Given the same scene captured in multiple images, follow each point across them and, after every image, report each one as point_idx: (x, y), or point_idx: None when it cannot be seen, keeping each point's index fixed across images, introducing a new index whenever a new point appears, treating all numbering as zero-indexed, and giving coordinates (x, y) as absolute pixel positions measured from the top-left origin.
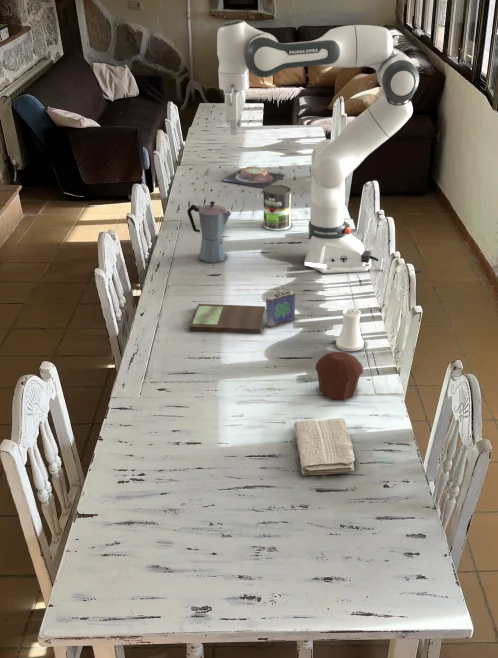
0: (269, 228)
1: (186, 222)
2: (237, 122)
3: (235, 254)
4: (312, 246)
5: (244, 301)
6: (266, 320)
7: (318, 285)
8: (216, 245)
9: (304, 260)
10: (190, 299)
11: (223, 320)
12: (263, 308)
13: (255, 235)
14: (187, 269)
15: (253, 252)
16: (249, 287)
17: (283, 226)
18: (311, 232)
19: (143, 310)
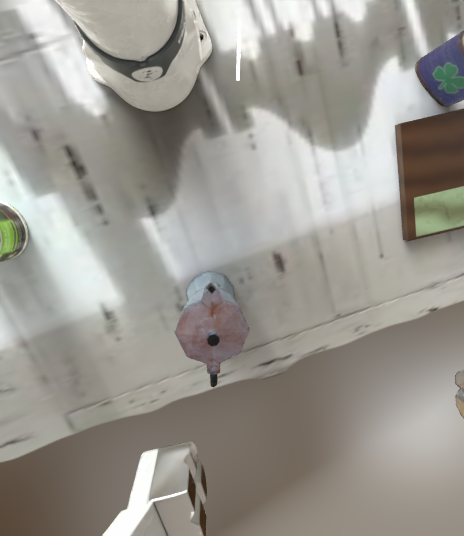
0: (26, 239)
1: (68, 402)
2: (193, 504)
3: (180, 261)
4: (178, 68)
5: (366, 174)
6: (459, 101)
7: (271, 47)
8: (227, 289)
9: (165, 109)
10: (375, 264)
11: (459, 178)
12: (409, 123)
13: (72, 257)
14: (269, 314)
15: (158, 231)
16: (312, 185)
17: (8, 209)
18: (173, 56)
19: (421, 314)
